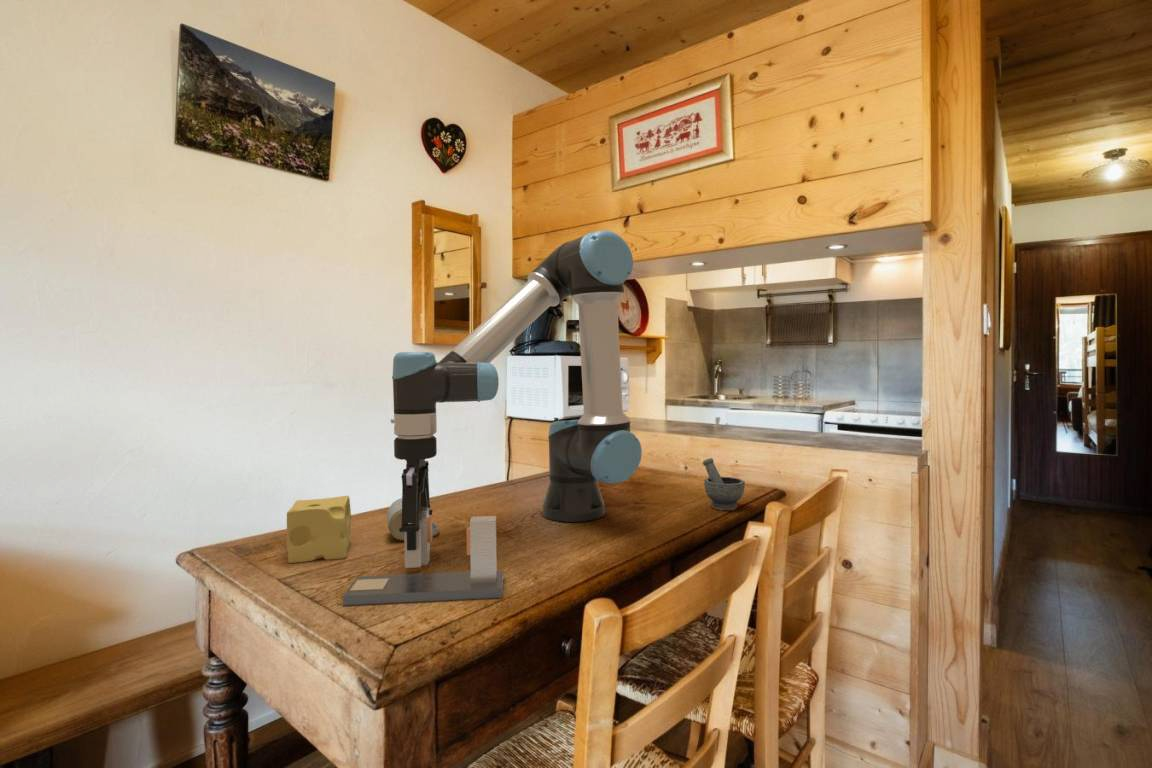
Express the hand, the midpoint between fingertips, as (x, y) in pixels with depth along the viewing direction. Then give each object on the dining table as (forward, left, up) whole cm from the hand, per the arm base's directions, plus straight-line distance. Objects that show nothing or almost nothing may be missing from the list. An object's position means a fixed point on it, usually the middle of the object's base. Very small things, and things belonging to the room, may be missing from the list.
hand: (417, 558), depth 105 cm
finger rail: (-4, +14, -1) cm, 15 cm away
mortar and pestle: (-70, -32, -1) cm, 77 cm away
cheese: (+20, -8, -1) cm, 22 cm away
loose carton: (0, 0, -1) cm, 1 cm away
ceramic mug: (+4, -17, -1) cm, 18 cm away
